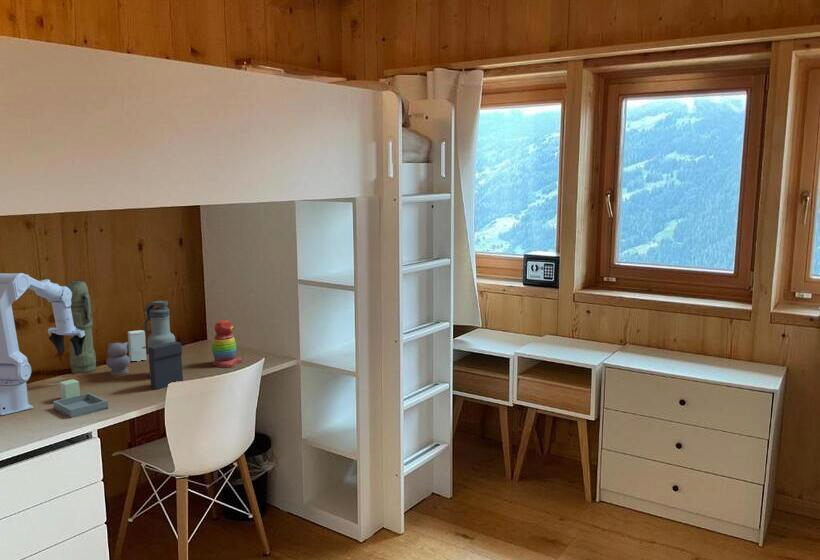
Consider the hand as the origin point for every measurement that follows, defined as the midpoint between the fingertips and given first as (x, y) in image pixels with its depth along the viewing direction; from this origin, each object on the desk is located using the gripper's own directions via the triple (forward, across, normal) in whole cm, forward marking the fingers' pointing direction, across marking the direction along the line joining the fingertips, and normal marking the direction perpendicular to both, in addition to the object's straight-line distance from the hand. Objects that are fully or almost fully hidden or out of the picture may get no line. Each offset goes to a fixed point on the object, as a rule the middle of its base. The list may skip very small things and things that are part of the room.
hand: (70, 353), depth 251 cm
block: (+8, -15, +18) cm, 24 cm away
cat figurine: (+13, -9, -12) cm, 20 cm away
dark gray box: (+11, -37, -4) cm, 39 cm away
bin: (+7, -26, +25) cm, 36 cm away
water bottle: (+12, -27, -15) cm, 33 cm away
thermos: (+13, +8, -12) cm, 19 cm away
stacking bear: (+15, -42, -34) cm, 56 cm away
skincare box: (+15, -3, -30) cm, 34 cm away
